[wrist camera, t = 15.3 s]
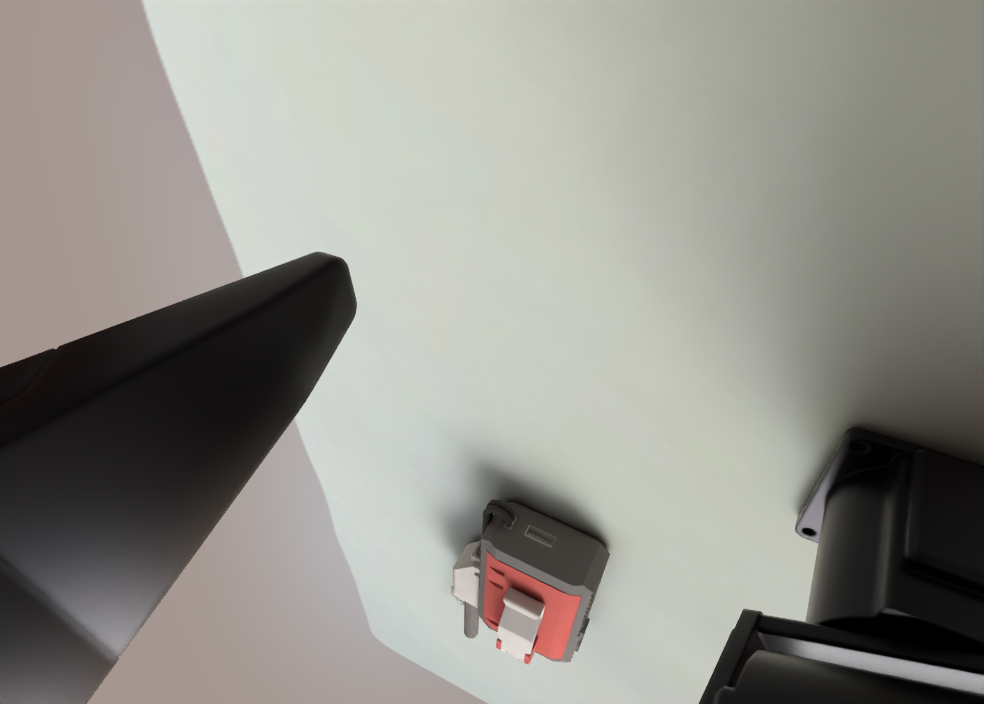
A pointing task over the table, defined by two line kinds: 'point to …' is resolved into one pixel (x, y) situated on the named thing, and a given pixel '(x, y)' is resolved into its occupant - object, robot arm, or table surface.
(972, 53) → the table surface
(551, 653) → the walkie-talkie
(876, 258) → the table surface
